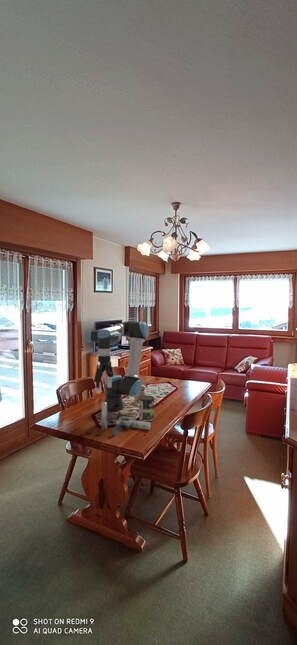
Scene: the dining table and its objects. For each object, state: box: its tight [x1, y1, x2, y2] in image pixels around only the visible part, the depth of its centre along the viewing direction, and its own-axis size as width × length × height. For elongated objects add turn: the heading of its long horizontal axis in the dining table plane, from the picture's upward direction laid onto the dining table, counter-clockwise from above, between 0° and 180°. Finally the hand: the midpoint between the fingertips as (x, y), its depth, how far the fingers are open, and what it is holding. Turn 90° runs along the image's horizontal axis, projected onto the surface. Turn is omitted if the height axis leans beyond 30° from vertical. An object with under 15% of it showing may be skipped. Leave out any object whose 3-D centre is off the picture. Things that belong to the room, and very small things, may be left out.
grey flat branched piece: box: [111, 415, 152, 437], centre depth 185 cm, size 21×21×4 cm
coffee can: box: [138, 394, 155, 422], centre depth 204 cm, size 10×10×14 cm
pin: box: [101, 401, 108, 431], centre depth 187 cm, size 3×3×16 cm
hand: (104, 390), depth 186 cm, fingers open, 13 cm apart
